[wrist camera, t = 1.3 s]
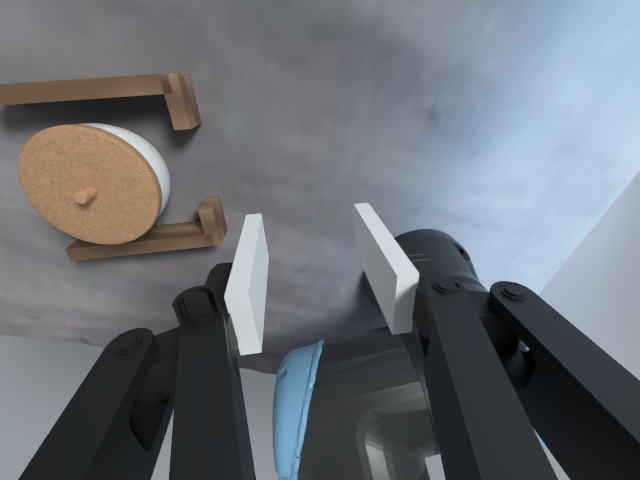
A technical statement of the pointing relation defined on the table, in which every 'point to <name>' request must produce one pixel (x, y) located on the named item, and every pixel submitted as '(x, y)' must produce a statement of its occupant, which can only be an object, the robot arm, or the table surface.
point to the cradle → (183, 117)
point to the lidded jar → (95, 181)
